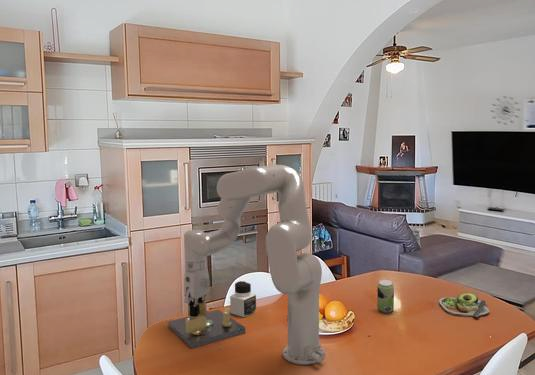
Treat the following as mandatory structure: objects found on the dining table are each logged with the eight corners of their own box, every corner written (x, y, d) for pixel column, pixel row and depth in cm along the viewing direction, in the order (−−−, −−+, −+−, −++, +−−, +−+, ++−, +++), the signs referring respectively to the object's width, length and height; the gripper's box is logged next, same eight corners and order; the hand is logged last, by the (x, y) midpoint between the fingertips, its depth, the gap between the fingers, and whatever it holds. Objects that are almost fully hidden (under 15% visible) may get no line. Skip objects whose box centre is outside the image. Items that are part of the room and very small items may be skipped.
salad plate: (499, 321, 164) (500, 309, 164) (447, 319, 167) (448, 307, 166) (482, 302, 184) (482, 291, 183) (435, 300, 186) (436, 289, 185)
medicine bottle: (244, 318, 170) (243, 286, 169) (230, 313, 175) (229, 283, 173) (256, 312, 176) (256, 281, 175) (242, 308, 180) (241, 278, 179)
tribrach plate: (245, 333, 157) (245, 322, 157) (191, 348, 147) (191, 337, 146) (218, 314, 174) (218, 305, 174) (168, 327, 163) (167, 317, 163)
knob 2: (232, 321, 162) (231, 305, 161) (230, 328, 156) (230, 312, 155) (222, 321, 162) (222, 305, 161) (221, 328, 156) (220, 312, 155)
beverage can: (392, 307, 178) (392, 277, 177) (395, 315, 171) (396, 284, 170) (375, 307, 179) (376, 277, 177) (378, 314, 172) (378, 283, 170)
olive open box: (205, 319, 164) (204, 303, 163) (187, 318, 165) (187, 303, 164) (207, 315, 167) (206, 300, 167) (189, 315, 168) (189, 300, 167)
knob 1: (207, 332, 153) (206, 315, 152) (189, 337, 150) (188, 320, 149) (202, 329, 156) (202, 312, 155) (185, 333, 152) (184, 316, 152)
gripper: (190, 272, 155) (192, 324, 157) (217, 260, 169) (218, 308, 171) (172, 269, 158) (174, 321, 160) (200, 258, 173) (201, 305, 175)
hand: (197, 314), depth 166 cm, fingers open, 3 cm apart
